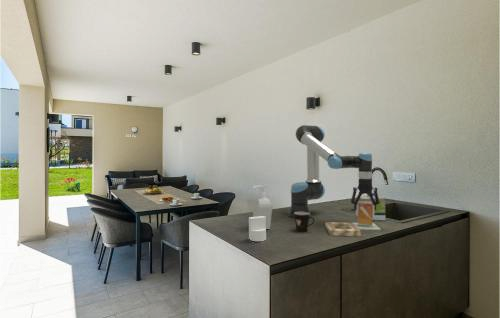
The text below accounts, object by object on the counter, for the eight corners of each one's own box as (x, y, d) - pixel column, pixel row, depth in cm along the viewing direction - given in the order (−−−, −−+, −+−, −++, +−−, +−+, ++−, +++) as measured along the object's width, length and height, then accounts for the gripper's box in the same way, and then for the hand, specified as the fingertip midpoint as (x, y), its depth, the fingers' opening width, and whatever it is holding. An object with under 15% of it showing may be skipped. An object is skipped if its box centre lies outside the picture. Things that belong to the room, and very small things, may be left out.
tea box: (380, 217, 197) (380, 196, 197) (385, 220, 187) (385, 198, 187) (357, 217, 199) (358, 195, 199) (362, 220, 189) (362, 198, 189)
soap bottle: (249, 226, 175) (249, 184, 174) (264, 225, 178) (264, 184, 178) (256, 232, 163) (256, 187, 163) (272, 230, 167) (272, 186, 166)
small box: (358, 224, 172) (358, 202, 171) (357, 221, 178) (357, 201, 177) (372, 225, 169) (372, 203, 169) (371, 222, 175) (371, 201, 175)
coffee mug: (291, 229, 169) (291, 212, 168) (303, 227, 172) (303, 211, 172) (302, 234, 158) (302, 216, 158) (315, 232, 161) (315, 215, 161)
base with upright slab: (253, 243, 143) (253, 220, 143) (246, 238, 151) (246, 216, 151) (269, 241, 147) (268, 218, 146) (261, 236, 155) (261, 214, 155)
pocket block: (330, 235, 155) (330, 230, 155) (325, 226, 173) (325, 222, 173) (360, 236, 154) (360, 231, 154) (352, 227, 171) (352, 222, 171)
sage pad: (355, 229, 167) (355, 228, 167) (350, 223, 181) (350, 222, 181) (380, 230, 166) (380, 229, 166) (373, 223, 180) (373, 223, 180)
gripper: (348, 178, 170) (348, 216, 171) (385, 179, 168) (385, 217, 168) (345, 177, 178) (345, 213, 178) (381, 177, 175) (381, 214, 176)
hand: (364, 215), depth 173 cm, fingers closed on small box, 9 cm apart
